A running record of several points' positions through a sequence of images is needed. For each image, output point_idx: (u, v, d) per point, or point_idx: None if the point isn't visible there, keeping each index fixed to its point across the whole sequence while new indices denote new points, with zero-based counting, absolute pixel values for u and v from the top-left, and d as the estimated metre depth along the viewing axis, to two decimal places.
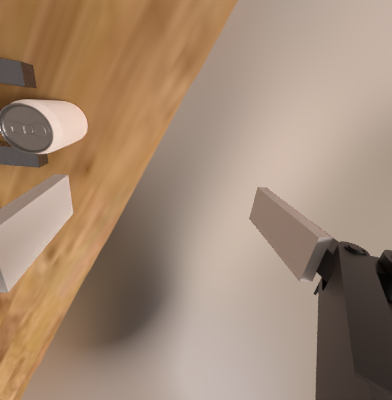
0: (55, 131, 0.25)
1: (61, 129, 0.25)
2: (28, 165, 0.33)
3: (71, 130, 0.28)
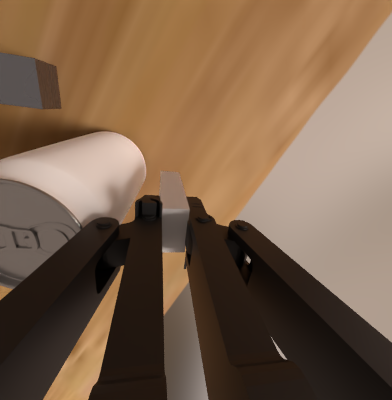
0: None
1: None
2: None
3: (125, 208, 0.13)
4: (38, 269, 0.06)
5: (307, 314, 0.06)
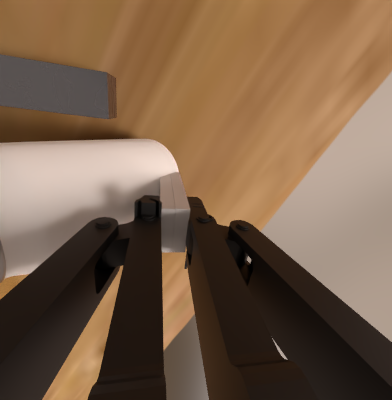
0: (18, 241, 0.08)
1: (47, 230, 0.08)
2: None
3: None
4: (37, 269, 0.06)
5: (307, 314, 0.06)
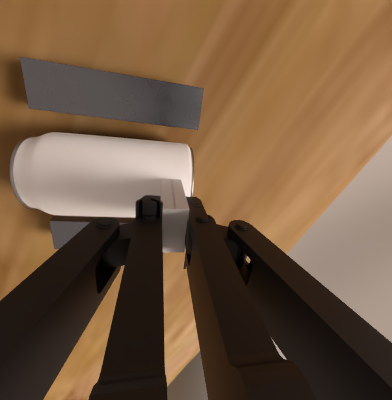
0: (22, 184, 0.13)
1: (33, 183, 0.13)
2: None
3: (80, 192, 0.14)
4: (39, 269, 0.06)
5: (306, 314, 0.06)
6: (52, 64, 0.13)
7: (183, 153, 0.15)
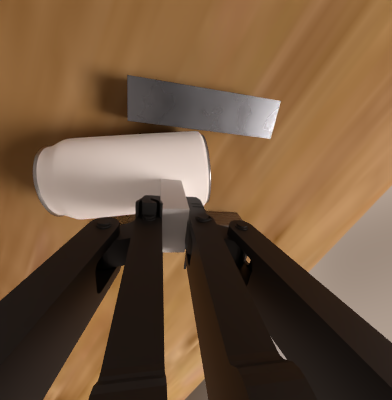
0: (43, 180, 0.13)
1: (54, 175, 0.13)
2: None
3: (99, 178, 0.14)
4: (38, 269, 0.06)
5: (306, 314, 0.06)
6: (154, 81, 0.15)
7: (193, 133, 0.16)
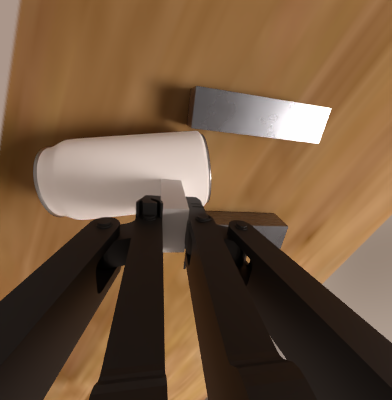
0: (44, 180, 0.13)
1: (54, 176, 0.13)
2: None
3: (99, 178, 0.14)
4: (39, 269, 0.06)
5: (306, 314, 0.06)
6: (219, 91, 0.15)
7: (193, 133, 0.16)
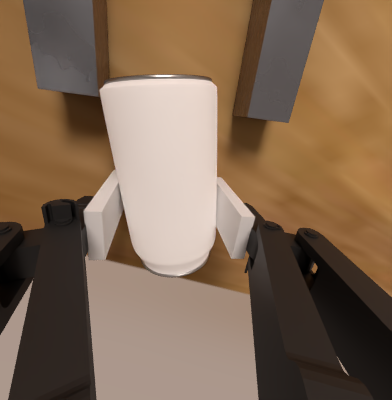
0: (161, 269, 0.14)
1: (153, 263, 0.13)
2: None
3: (154, 228, 0.12)
4: None
5: (374, 325, 0.06)
6: (33, 47, 0.10)
7: None
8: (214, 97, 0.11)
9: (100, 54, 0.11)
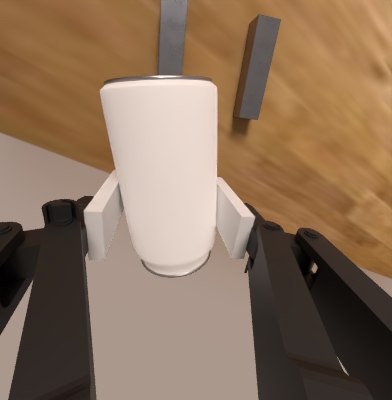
0: (161, 269, 0.14)
1: (153, 263, 0.13)
2: (276, 34, 0.26)
3: (154, 229, 0.12)
4: None
5: (374, 325, 0.06)
6: None
7: None
8: (214, 97, 0.11)
9: None
